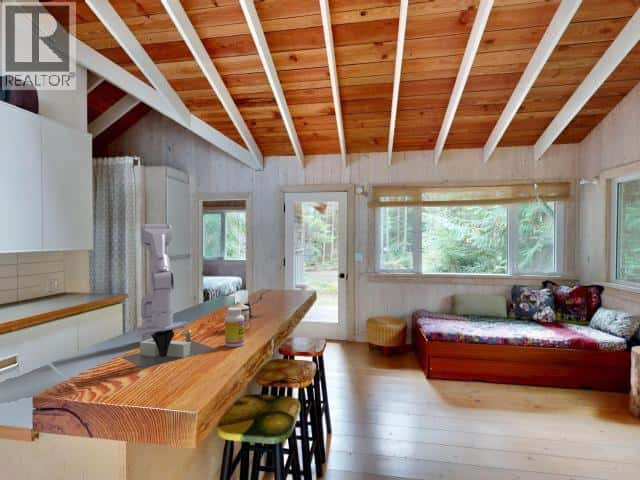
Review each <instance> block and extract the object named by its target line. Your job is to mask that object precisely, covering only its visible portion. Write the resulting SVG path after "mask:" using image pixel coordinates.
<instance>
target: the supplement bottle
mask: <svg viewBox="0 0 640 480" xmlns="http://www.w3.org/2000/svg"><path fill="white" fill-rule="evenodd" d="M228 308H229V307H228ZM228 308H227V315H226V316H225V319H224V334H225V335H224V337H225V338H224V339H225V340H224V341H225V343H224V344H225V346H226V347H229V348H237V347H242V346H243V345H245V330H244V317H243V316H242V315H241V308H229V309H228Z"/></svg>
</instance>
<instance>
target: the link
mask: <svg viewBox="0 0 640 480" xmlns="http://www.w3.org/2000/svg"><path fill="white" fill-rule="evenodd" d="M139 351H140V352H139V353H140V355H147V356H157V355H159V351H158V348H157V345H156V343H155V341H154V339H153V338H152V339H149V340H146V341H143V342H140V341H139ZM188 355H190V342H186V341H181V340H171V342H170V345H169V348H168V352H167V356H173V357H183V358H182V359H185V358H184V357H186V356H188ZM186 358H187V357H186Z"/></svg>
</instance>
